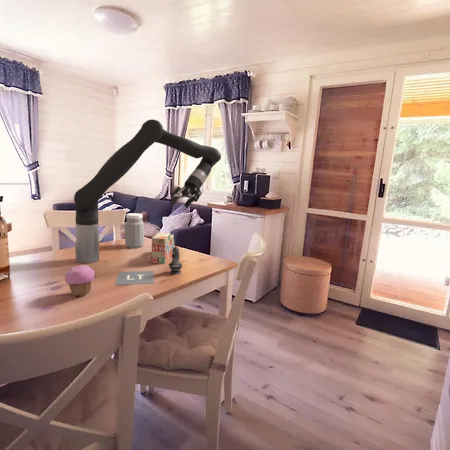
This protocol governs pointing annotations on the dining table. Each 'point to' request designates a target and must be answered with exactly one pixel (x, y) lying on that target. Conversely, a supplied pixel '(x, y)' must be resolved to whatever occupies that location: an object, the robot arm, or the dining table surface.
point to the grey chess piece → (175, 262)
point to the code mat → (135, 277)
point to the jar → (134, 230)
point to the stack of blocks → (162, 247)
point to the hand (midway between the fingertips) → (178, 205)
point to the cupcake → (80, 279)
